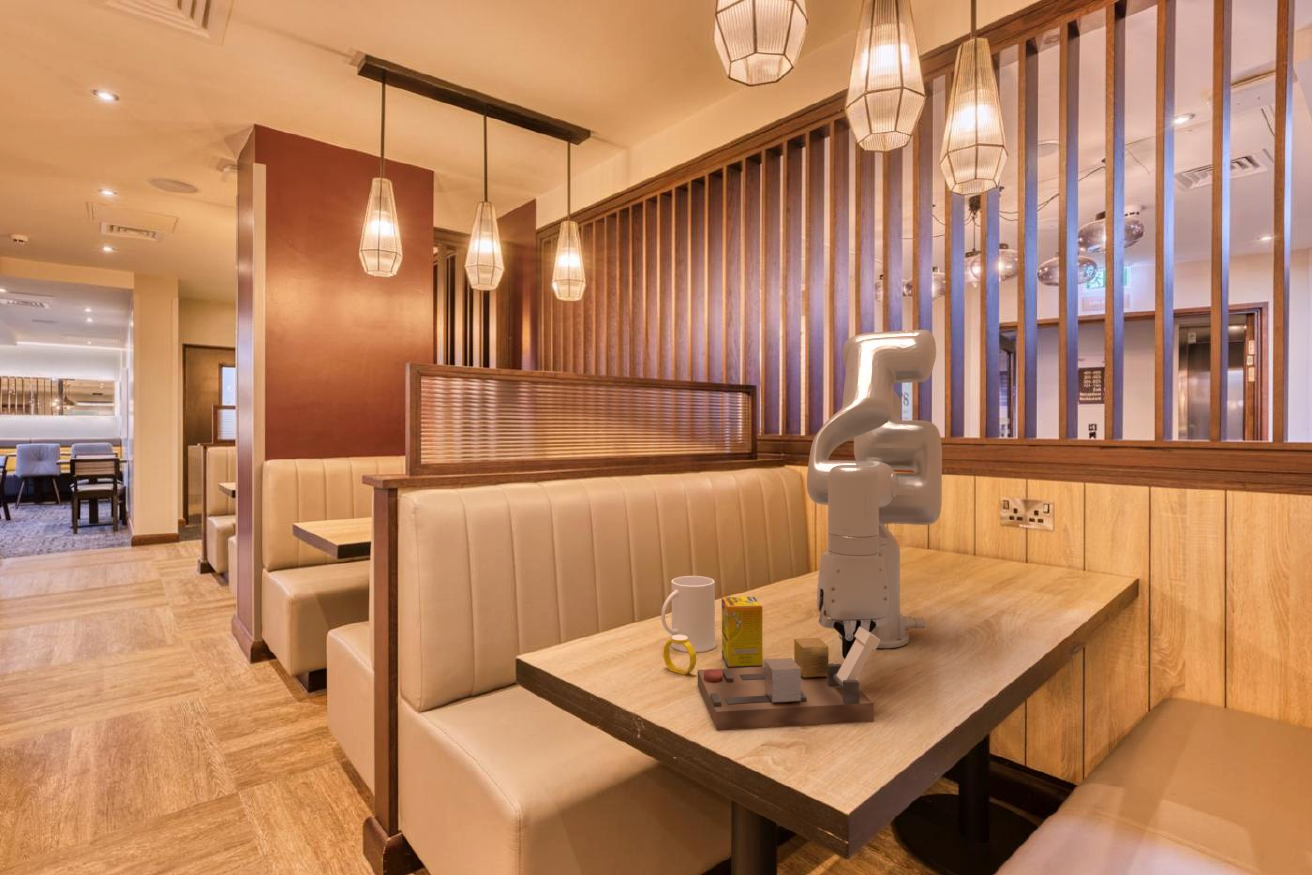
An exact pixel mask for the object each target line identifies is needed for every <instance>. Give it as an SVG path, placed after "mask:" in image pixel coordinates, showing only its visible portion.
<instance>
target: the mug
mask: <svg viewBox="0 0 1312 875" xmlns="http://www.w3.org/2000/svg"><path fill="white" fill-rule="evenodd" d="M670 582H671V584H670V586H671V593H670V594H669V595H668V596H667V597H666V599H665V600H664V603H663V605H662V608H661V614H660V615H661V617H660V618H661V623H662V626H663V628H664V630H665V631H666V632H667V633H668V634H670V635H671V637H672V636H673V635H685V636H687V637H688V641H689V642H690V643H691V644H692V646H693V648H694V650H695V653H704V652H709V651H712V650H713V649H715V648H716V647H717V640H716V597H715V596H716V583H715V579H713V578H711V577H707V576H701V575H686V576H685V575H684V576H678V577H675V578H673V579H671V581H670ZM670 602H671V628H670V626H668V625H667V621H666V612H667V611H666V610H667V608H668V605H669V604H670ZM670 647H672V649H673V650H677V651H680V652H684V653H688V651H687V649H686V647H685V646H684V645H683V644H675V643H673V642H672V644H671V645H670Z"/></svg>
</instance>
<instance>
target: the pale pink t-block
mask: <svg viewBox="0 0 1312 875" xmlns="http://www.w3.org/2000/svg"><path fill="white" fill-rule="evenodd" d="M854 636H855V637H856V640H855V642H854V644H853V645H852V647H851V649H850V651H849V653H848V655H847V656H846V658H845V659H844V660H843V661H842V664H841V665H842V666H841V668H840V669H839V671H838V673H835V674H834V675H833V680H834V681H835V682H836V683H837V684H838V685H839V686H840V687H841V688H842V689H843V680H857V679H858V676H859V675H860V673H861V671H862V669H863V668H864V665H865V664H866V662H867V660H868V658H869V656H870V654H871V653H872V651H873V650H874V651H876V650H877V649H878V648H877V646H878V644H879V643H880V641H881V640H880V639H878V638H877V637H876V636H874V635H873V634H872V633H870V632H869V631H867V630H865V629H863V628H861V627H860V626H859V628H858V630H857V632H856V634H855V635H854Z"/></svg>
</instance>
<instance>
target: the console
mask: <svg viewBox="0 0 1312 875" xmlns="http://www.w3.org/2000/svg"><path fill="white" fill-rule="evenodd" d="M841 666H842V664H841V663H833V662H832V663H830V662H828V664H827V676H819V677H802V676H801V701H789V702H772V701H771V699H770V698H769V696H768V695H767V693H766V692H765V682H764V666H763V667H745V668H727V667H726V668H707V669H706V668H705V669H697V687H698V689H699V690H698V691H699V692H700V694H701V697H702V699H703V702H704V704H705V706H706V709H707V711H708V714H709V716H710V718H711V720H712V722H713V726H714V727H715V730H716V731H724V730H727V731H728V730H741V729H743V730H744V729H757V728H774V727H775V728H776V727H777V728H778V727H789V726H790V727H793V726H812V725H825V724H826V725H827V724H842V723H844V724H846V723H861V722H862V723H864V722H874V721H875V719H874V716H875V714H874V709H875V708H874V706H875V705H874V703H875V702H873V701H872V700H871V699H870V698H869V697H868V696H867V695H866V694H865V693H864V692H863V691H862V690H861V689H860V681H859V680H858V679H856V680H843V689H842V688H841V687H840V686H839V685H838V684H837V683H836V682H835V681H834V680H833V675H834V674H835V673H838V671H839V669H840V668H841Z"/></svg>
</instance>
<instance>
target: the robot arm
mask: <svg viewBox="0 0 1312 875" xmlns="http://www.w3.org/2000/svg"><path fill="white" fill-rule="evenodd" d="M842 349H843V350H842V356H843V359H842V360H843V364H844V369H845V378H844V386H843V387H844V388H843V396H842V404H841V405H842V406H841V408H840V409H839V410H838V411H837V412H836V413H835V414H833V415H832V416H831V417H830V418H829V419H828V420H827V421H826V422H824V424H823V425H822V426H821V428H819V431H818V432H817V433H816V435H815V436H814V438H813V441H812V443H811V447H810V452H809V458H808V464H807V473H806V491H807V493H808V496H809V498H810V499H811V500H812V502H814V503H815V504H818V505H822V506H823V505H824V506H827V532H828V533H827V545H828V546H827V549H828V550H827V551H824V552H822V555H821V559H820V563H819V564H820V565H819V571H818V578H817V579H818V580H817V588H816V589H817V591H816V608H817V612H819V613H820V614H819V618H818V624H819V625H820V626H821V627H823V628H827V629H830V630H831V629H832V630H833V629H834V630H835V631H836V632H837V633H838V635H839V637H840V638H841V654H842V655H841V656H842V658H843V659H844V660H845V658H846V656H847V655H848V653H849V651H850V649H851V647H852V645H853V644H854V642H855V640H856V637H855V636H854V635H855V634H856V632H857V630H858V628H859V626H860V627H861V628H863V629H865V630H867V631H869V632H870V633H872V634H873V635H874V636H876V637H877V638H878V639H880V640H881V641H880V643H879V644H878V646H877V648H876V649H892V648H893V649H894V648H899V647H903V646H906V645H907V644H908V643H909V640H910V639H909V638H910V637H909V634H908V632H907V631H909V630H911V629H924V628H925V627H926V620H925V618H923V617H913V618H912V616H911V615H903V614H901V550H900V544H899V543H898V541H897V539H896V537H895V536H894V535H893V533H892V532H891V531H890V530H889V528H888V527H887V526H886V525H891V524H898V525H899V524H900V525H914V526H915V525H917V526H929V525H933V524H934V523H936V522H937V521H938V520H939V518H940V516H941V512H942V505H943V504H942V502H943V501H942V500H943V488H942V487H943V447H942V437H941V434H940V430H939V428H938V426H937V425H936V424H934V423H932V422H931V421H929V420H913V419H912V420H909V419H906V420H903V419H901V412H902V411H901V410H902V401H901V398H900V397H899V395H898V394H897V393H896V391H895V387H894V386H895V384H900V383H901V384H903V383H904V384H905V383H907V384H908V383H909V384H911V383H923V382H926V381H927V380H929V379H930V377H931V374H932V372H933V370H934V369H933V368H934V365H935V362H936V358H937V346H936V339H935V337H934V335H933V334H932V332H931V331H930V330H928V329H909V330H908V329H907V330H906V329H905V330H893V331H876V332H875V331H874V332H864V333H860V334H856V335H853V336H851V337H850V338H849V337H848V338H847V340H846V341H845V342H844V344H843V348H842ZM852 439H853V455H854V459H855V460H838V459H836V460H834V459H833V460H832V459H831V460H830V459H829V458H830V456H831V454H832V453H833V451H834V450H836V449H837V447H839V446H840V445H842V444H844V443H845V442H847V441H849V440H852ZM895 470H898V471H899V470H900V471H901V470H902V471H903V470H904V471H913V472H914V473H913V472H912V473H911V472H896V471H895Z"/></svg>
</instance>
